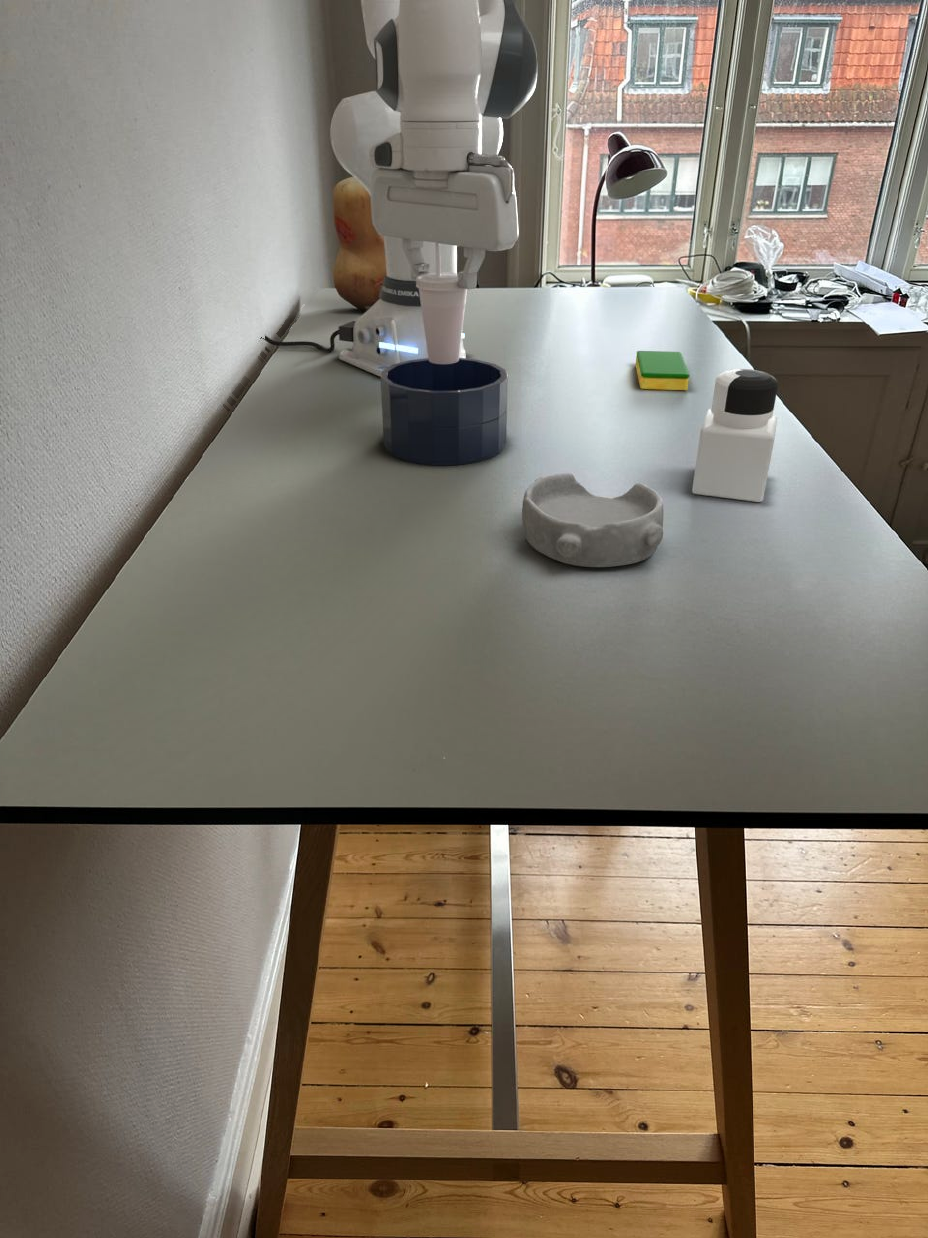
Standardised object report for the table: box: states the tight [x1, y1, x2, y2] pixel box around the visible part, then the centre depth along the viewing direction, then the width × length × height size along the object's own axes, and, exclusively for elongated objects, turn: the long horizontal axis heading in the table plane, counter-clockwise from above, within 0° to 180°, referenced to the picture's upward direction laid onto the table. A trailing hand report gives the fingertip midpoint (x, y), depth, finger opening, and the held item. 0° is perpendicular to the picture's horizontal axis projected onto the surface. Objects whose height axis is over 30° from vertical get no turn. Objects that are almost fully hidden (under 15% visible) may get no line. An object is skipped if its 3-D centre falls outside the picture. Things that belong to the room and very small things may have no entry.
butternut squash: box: [332, 176, 386, 311], centre depth 177 cm, size 14×13×25 cm
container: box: [691, 368, 779, 503], centre depth 99 cm, size 8×8×13 cm
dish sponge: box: [635, 350, 690, 391], centre depth 140 cm, size 7×14×2 cm, turn 174°
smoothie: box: [416, 243, 468, 364], centre depth 105 cm, size 6×6×14 cm
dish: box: [521, 472, 665, 568], centre depth 88 cm, size 14×14×5 cm
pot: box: [380, 358, 509, 466], centre depth 112 cm, size 16×16×9 cm
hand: (442, 283), depth 104 cm, fingers closed on smoothie, 6 cm apart
